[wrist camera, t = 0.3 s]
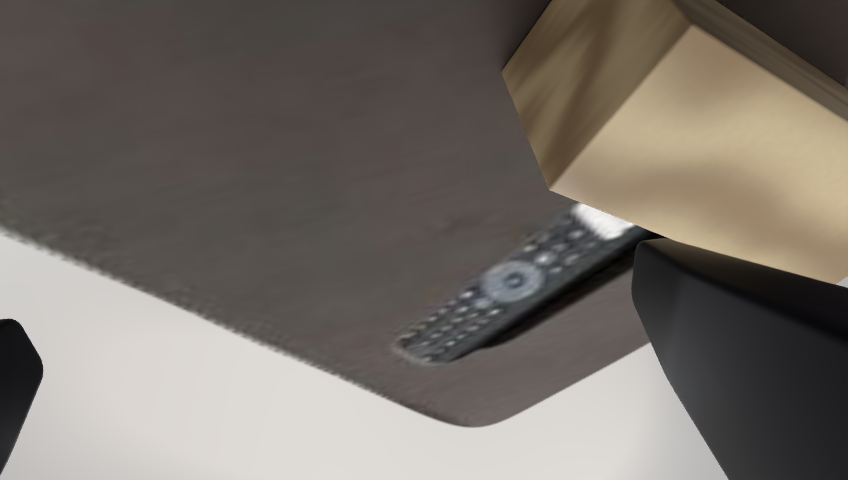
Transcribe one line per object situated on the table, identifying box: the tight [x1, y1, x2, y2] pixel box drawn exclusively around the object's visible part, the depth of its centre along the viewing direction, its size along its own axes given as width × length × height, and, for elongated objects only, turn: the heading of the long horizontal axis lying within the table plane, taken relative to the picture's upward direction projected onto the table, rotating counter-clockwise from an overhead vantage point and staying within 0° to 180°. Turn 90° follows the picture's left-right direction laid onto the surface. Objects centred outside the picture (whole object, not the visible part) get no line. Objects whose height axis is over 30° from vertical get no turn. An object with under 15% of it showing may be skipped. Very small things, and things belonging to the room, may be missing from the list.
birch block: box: [502, 0, 848, 285], centre depth 23 cm, size 6×14×7 cm, turn 60°
